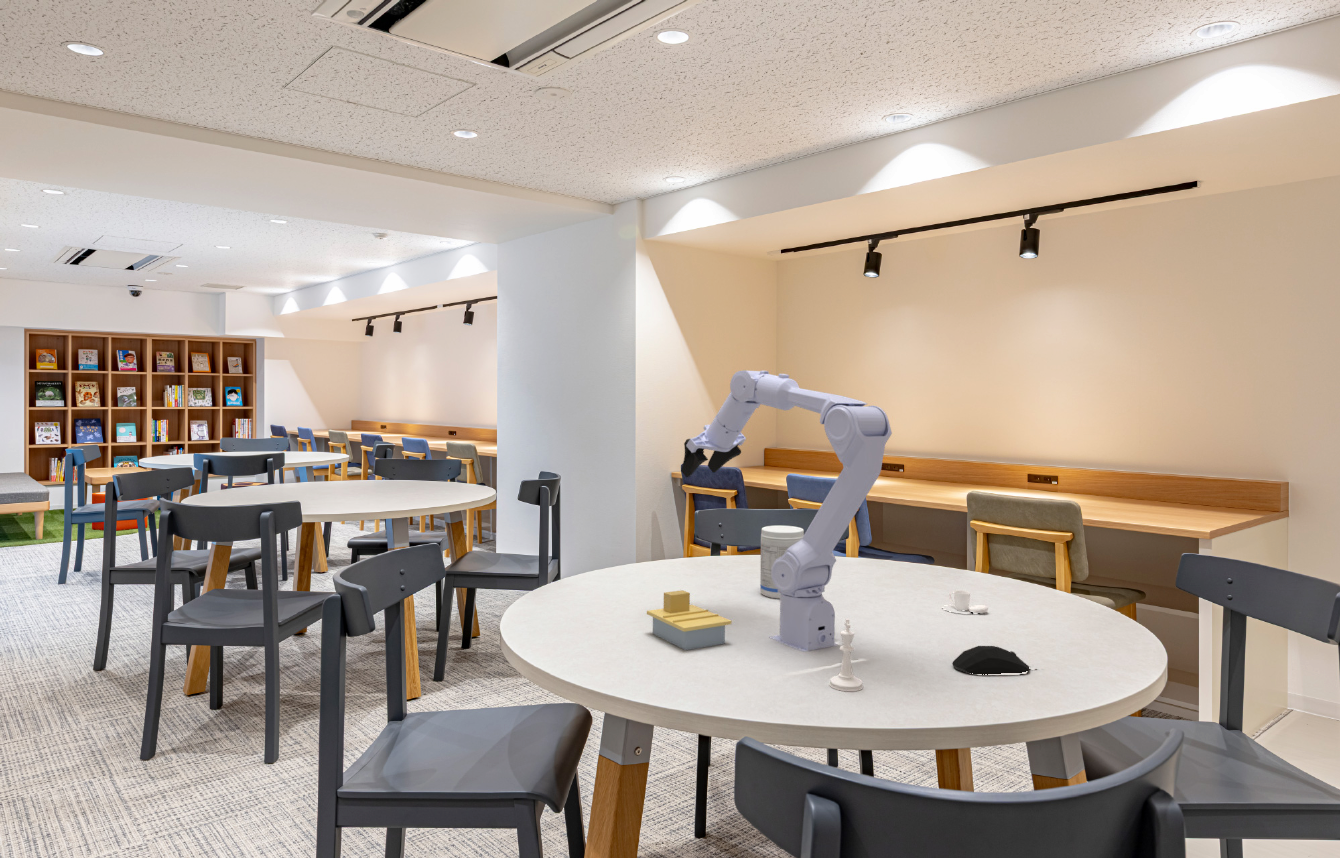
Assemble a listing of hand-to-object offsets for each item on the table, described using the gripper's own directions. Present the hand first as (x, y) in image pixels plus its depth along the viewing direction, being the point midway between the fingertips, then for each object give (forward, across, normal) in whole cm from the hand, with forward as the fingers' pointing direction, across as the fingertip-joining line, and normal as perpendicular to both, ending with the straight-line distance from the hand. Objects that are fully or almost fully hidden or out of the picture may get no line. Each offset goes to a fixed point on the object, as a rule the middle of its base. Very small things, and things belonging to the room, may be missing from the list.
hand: (698, 471), depth 162 cm
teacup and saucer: (-1, -37, +49) cm, 62 cm away
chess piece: (-10, +17, +52) cm, 56 cm away
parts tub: (+11, +19, +28) cm, 36 cm away
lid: (+8, +18, +26) cm, 33 cm away
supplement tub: (+21, -22, +22) cm, 37 cm away
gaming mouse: (-16, -8, +63) cm, 65 cm away
